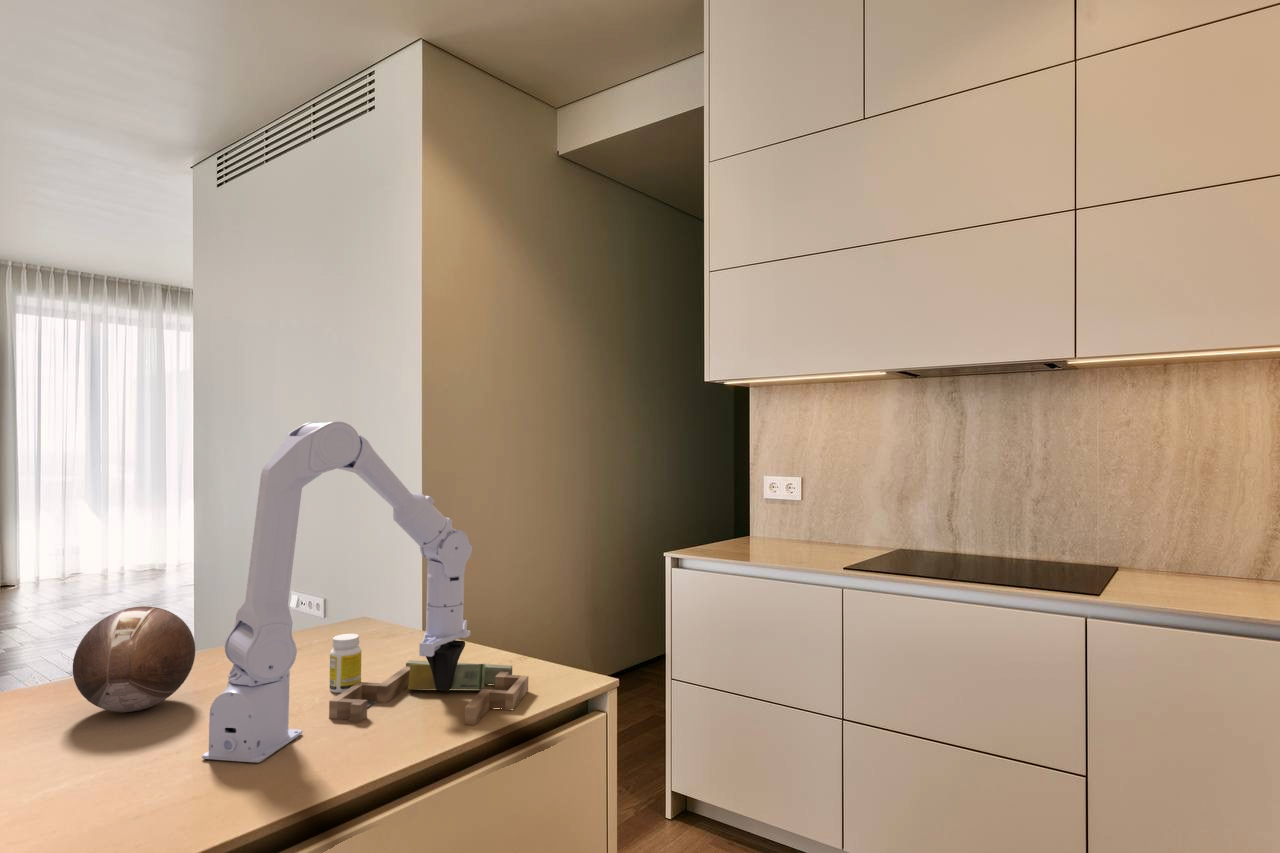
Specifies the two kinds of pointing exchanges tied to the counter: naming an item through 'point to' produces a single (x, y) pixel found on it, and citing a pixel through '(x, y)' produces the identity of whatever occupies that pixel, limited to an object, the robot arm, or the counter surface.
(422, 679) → the medication box
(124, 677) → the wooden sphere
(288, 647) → the robot arm
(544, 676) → the counter surface
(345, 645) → the supplement bottle
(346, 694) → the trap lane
